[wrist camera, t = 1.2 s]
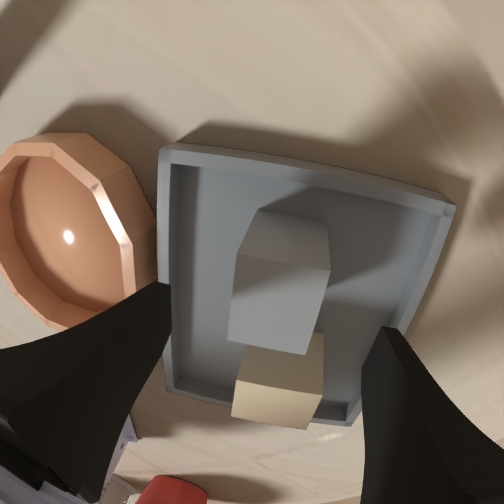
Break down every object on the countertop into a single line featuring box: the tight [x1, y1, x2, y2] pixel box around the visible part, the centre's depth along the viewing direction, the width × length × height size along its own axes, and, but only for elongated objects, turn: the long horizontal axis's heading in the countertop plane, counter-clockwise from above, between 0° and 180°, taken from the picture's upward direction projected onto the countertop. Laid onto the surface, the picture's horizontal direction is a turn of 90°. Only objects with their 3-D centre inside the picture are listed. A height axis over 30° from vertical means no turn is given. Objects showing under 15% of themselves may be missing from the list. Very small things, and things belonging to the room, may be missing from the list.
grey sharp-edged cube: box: [227, 209, 331, 355], centre depth 14 cm, size 4×3×4 cm
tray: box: [157, 142, 457, 427], centre depth 17 cm, size 16×13×2 cm
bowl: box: [0, 133, 158, 332], centre depth 17 cm, size 12×12×3 cm
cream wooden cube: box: [231, 332, 324, 430], centre depth 16 cm, size 4×3×4 cm
